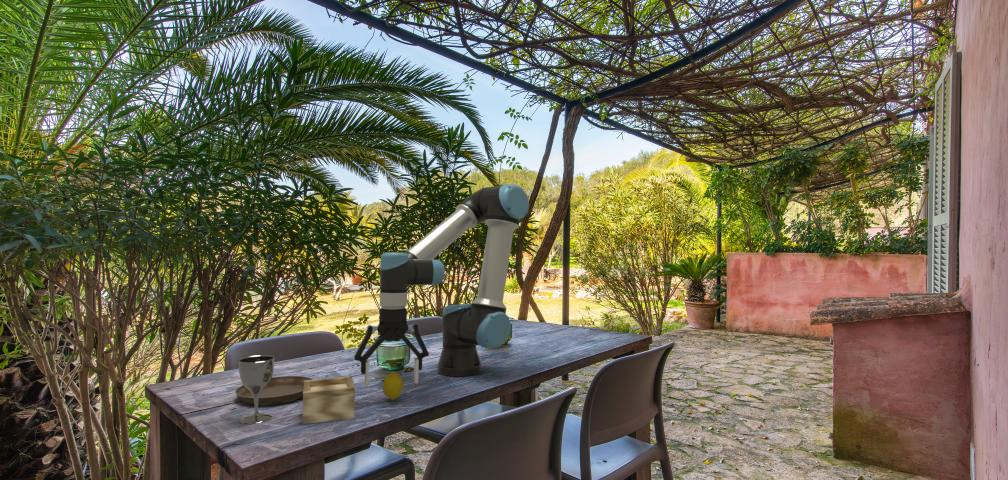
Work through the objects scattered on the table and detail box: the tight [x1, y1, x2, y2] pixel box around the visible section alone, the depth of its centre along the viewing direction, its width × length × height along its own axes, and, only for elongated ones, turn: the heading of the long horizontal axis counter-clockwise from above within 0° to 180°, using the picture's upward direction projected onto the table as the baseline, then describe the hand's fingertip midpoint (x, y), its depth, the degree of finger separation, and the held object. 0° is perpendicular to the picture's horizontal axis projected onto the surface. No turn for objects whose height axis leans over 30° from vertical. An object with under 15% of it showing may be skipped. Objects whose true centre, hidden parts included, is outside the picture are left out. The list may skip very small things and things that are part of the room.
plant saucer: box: [235, 375, 314, 406], centre depth 142 cm, size 21×21×3 cm
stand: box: [302, 375, 356, 425], centre depth 127 cm, size 12×12×8 cm
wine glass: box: [238, 354, 275, 425], centre depth 123 cm, size 8×8×15 cm
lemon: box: [382, 371, 404, 402], centre depth 137 cm, size 6×6×8 cm
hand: (391, 383), depth 137 cm, fingers open, 13 cm apart
